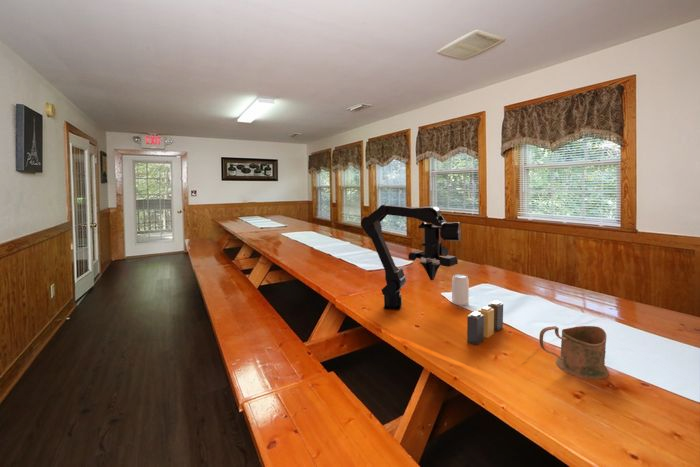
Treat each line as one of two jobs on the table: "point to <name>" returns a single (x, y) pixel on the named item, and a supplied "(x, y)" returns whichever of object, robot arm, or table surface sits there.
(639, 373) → the table surface
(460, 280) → the can
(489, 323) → the tan faceted column
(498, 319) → the grey columns
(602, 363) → the mug
